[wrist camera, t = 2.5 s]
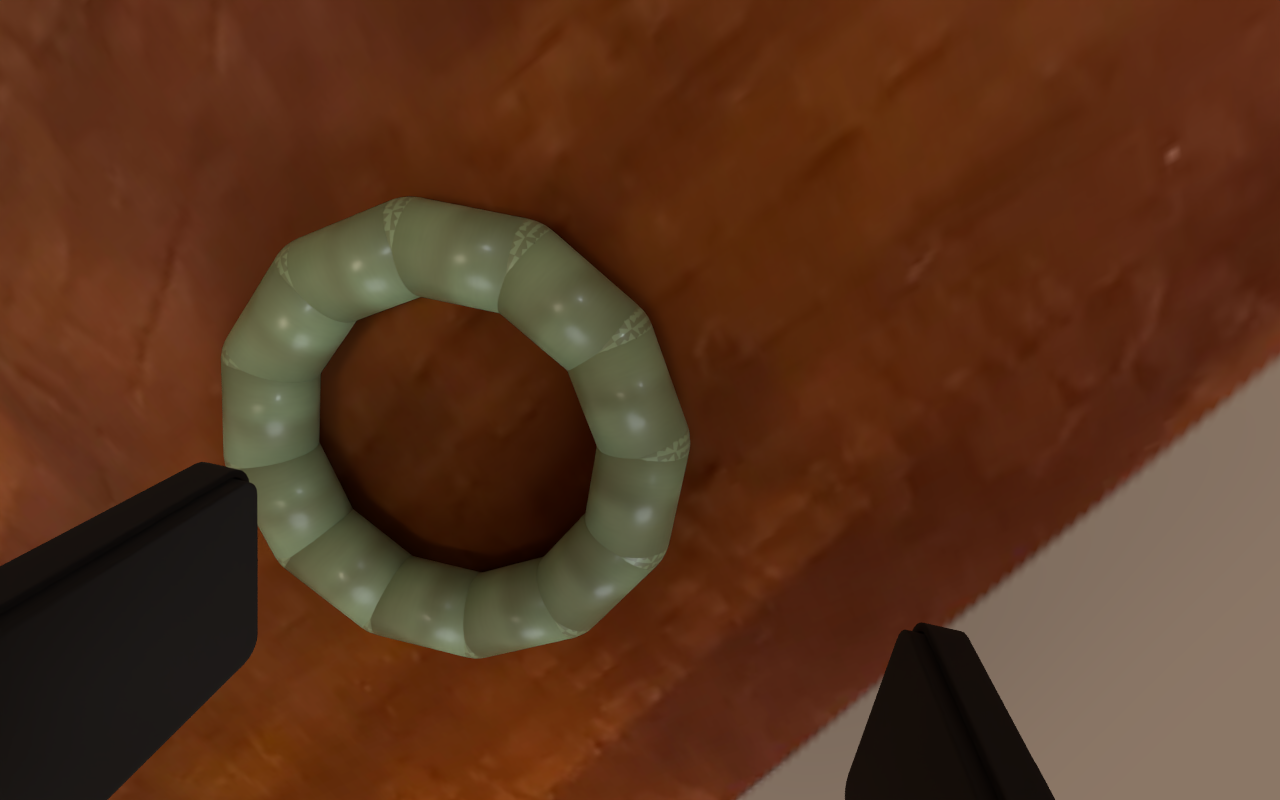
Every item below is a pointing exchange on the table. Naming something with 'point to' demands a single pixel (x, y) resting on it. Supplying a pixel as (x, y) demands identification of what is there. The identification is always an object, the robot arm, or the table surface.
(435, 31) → the table surface
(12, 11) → the table surface
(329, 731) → the table surface
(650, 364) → the ring
